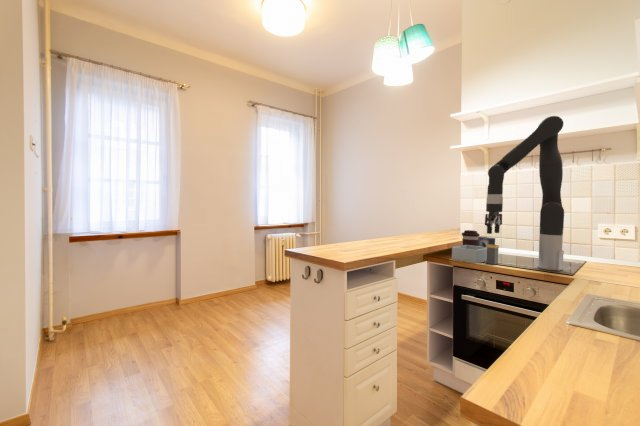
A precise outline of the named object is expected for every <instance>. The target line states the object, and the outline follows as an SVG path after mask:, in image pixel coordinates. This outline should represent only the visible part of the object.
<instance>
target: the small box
mask: <svg viewBox="0 0 640 426" xmlns="http://www.w3.org/2000/svg"><path fill="white" fill-rule="evenodd" d="M489 244H492V245H496V238H495V237H489V236H481V235H479V236H478V246H480V247H487V245H489Z"/></svg>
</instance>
